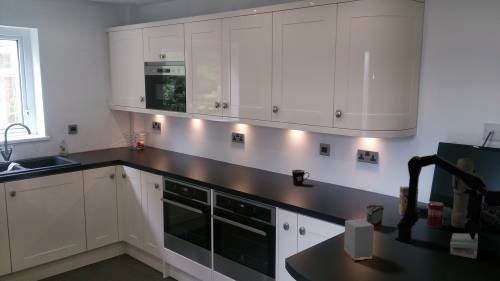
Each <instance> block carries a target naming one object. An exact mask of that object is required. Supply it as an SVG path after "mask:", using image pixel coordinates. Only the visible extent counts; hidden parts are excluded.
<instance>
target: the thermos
mask: <svg viewBox="0 0 500 281" xmlns="http://www.w3.org/2000/svg"><path fill="white" fill-rule="evenodd" d="M456 166H458V167H460V168H462V169H463V170H466V171H469V172H473V173H476V174H477V169H476V167H475V164H474V160H473V159H472V158H469V157H460V158H458V161H457V162H456ZM451 186H452V188H453V193H454V194H453V207H452V211H451V216H450V217H451V218H450V219H451V223H450V225H451V226H452V227H455V228H458V229H465V228H464V226H465V221H466V220H468V219H466V215H467V199H468V194H464V193H463V190H465V189H466V188H467V187H468V186H467V185H466V184H465V183H464V182H463V181H462V180H461V179H459V178H458V177H456V176H454V175H453V174H452V184H451ZM468 188H469V189H471V188H470V187H468ZM472 190H473V189H472Z"/></svg>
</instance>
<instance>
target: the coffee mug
mask: <svg viewBox="0 0 500 281" xmlns="http://www.w3.org/2000/svg"><path fill="white" fill-rule="evenodd" d="M291 173H292V183H293V185H292V186H294V187H302V186H303V185H304V181H306V180H307V179H308V178H309V177H310V173H309V172H305V169H292V170H291ZM306 174H308V176H307V177H306V178H305V175H306Z"/></svg>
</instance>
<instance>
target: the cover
mask: <svg viewBox="0 0 500 281" xmlns="http://www.w3.org/2000/svg"><path fill="white" fill-rule="evenodd" d="M478 238H479V236H478V233H476V235H475V238H474V239H471V237H470V234H469V233H452V236H451V238H450V243H449V246H450V248H451V247H459V248H477V249H478V246H477V242H479V241H478Z"/></svg>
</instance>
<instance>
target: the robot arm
mask: <svg viewBox="0 0 500 281" xmlns="http://www.w3.org/2000/svg"><path fill="white" fill-rule="evenodd" d="M433 165H435V166H437V167H439V168H440V169H442V170H444V171H446V172H447V173H449V174H451V175H452V176H453V175H454V176H456V177H458V178H459V179H461V180H462V181H463V182H464V183H465V184H466V185H467V186H468V187H470V188H471V189H469V188H468V187H467V188H466V189H465V190H463V193H464V194H468V199H467V215H466V219H468V220H466V221H465V226H464V228H463V229H466V230H467V232H468V234H470V237H471V239H474V238H475V235H476V234H477V231H481V230H482V224H483V220H484V221H485V222H488V223H489V224H491V225H494V224H495V222H496V221H497V219H498V216H497V214H495V210H494V209H492V208H489V209H488V210H487V209H486V210H485V209H484V206H483V203H484V204H485V205H486V206H487V207H498V208H500V190H495V189H494V190H492V189H489V188H488V186H486V184H485V182H484V181H485V180H484V177H483V176H482V175H481V174H478V173H477V172H476V173H473V172H469V171H466V170H463V169H462V168H460V167H458V166H457V164H455V163H452V162H451V161H450V160H447V159H445V158H444V157H442V156H440V154H436V153H433V154H432V155H431V154H430V155H424V156H419V155H415V156H412V157H410V159H409V160H408V161H407V169H408V170H407V171H408V176H409V177H408V179H409V180H408V187H409V189H408V200H407V207H406V210H405V213H404V215H402V216H403V217H402V218H401V219H400V220H399V221H398V223H397V228H398V231H397V232H398V233H397V237H395V238H394V240H396V241H399V242H401V243H404V244H409V243H411V242H413V241H415V238H412V230H413V227H414V226H415V225H416V224H417V223H418V222H419V220H420V212H421V210H420V209H418V206H417V207H416V203H417V204H418V202H417V192H418V193H419V182H420V175H421V173H422V169H423V168H426V167H429V166H433ZM472 189H473V190H472ZM483 197H484V198H483ZM483 199H484V202H483Z"/></svg>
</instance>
